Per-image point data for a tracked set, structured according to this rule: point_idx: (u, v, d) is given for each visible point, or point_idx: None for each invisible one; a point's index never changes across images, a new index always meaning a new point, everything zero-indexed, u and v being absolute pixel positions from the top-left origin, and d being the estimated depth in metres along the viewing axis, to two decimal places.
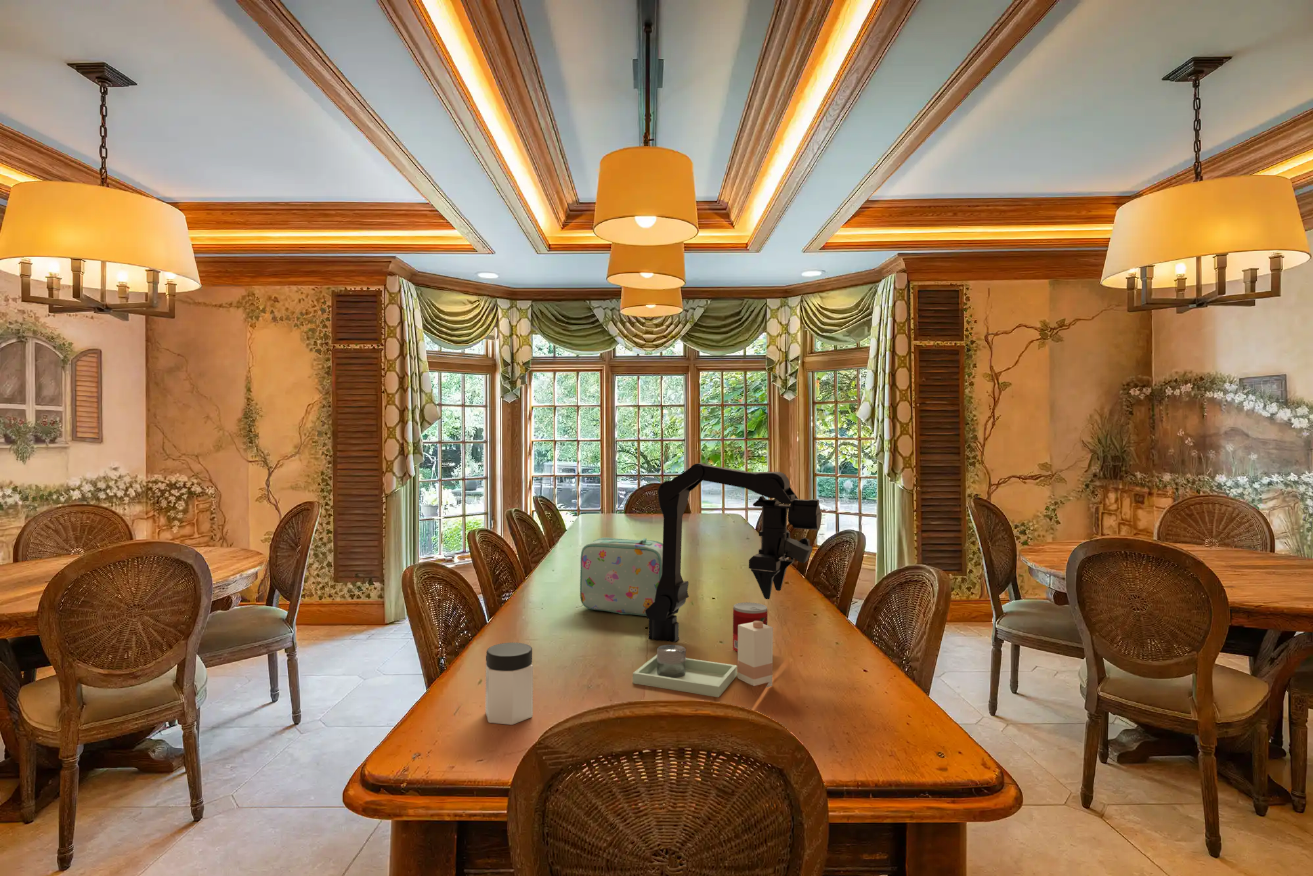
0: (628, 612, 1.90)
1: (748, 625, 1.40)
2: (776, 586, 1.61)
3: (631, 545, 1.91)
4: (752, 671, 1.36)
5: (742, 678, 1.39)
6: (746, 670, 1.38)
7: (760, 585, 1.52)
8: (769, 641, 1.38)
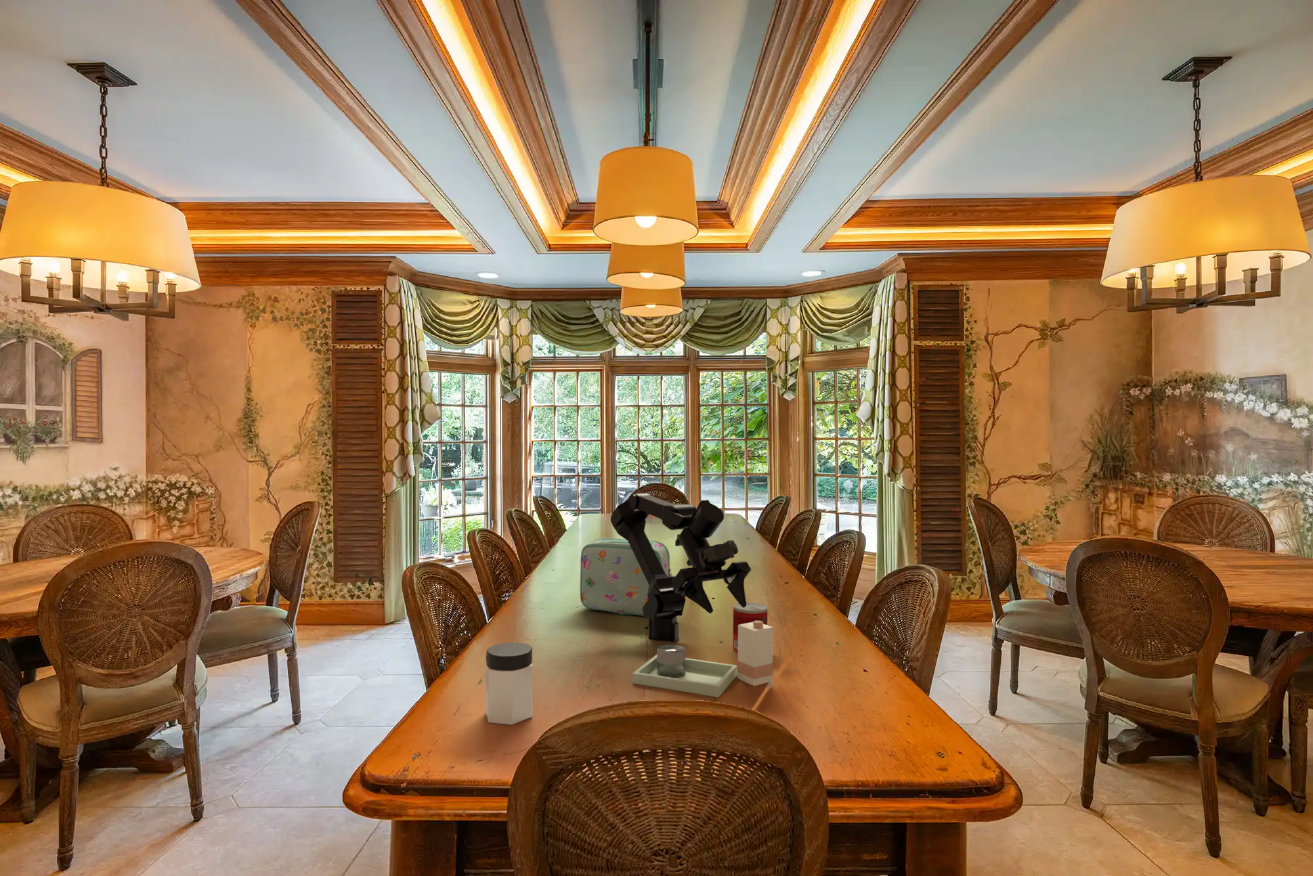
0: (628, 612, 1.90)
1: (748, 625, 1.40)
2: (741, 603, 1.50)
3: None
4: (752, 671, 1.36)
5: (742, 678, 1.39)
6: (746, 670, 1.38)
7: (698, 603, 1.46)
8: (769, 641, 1.38)
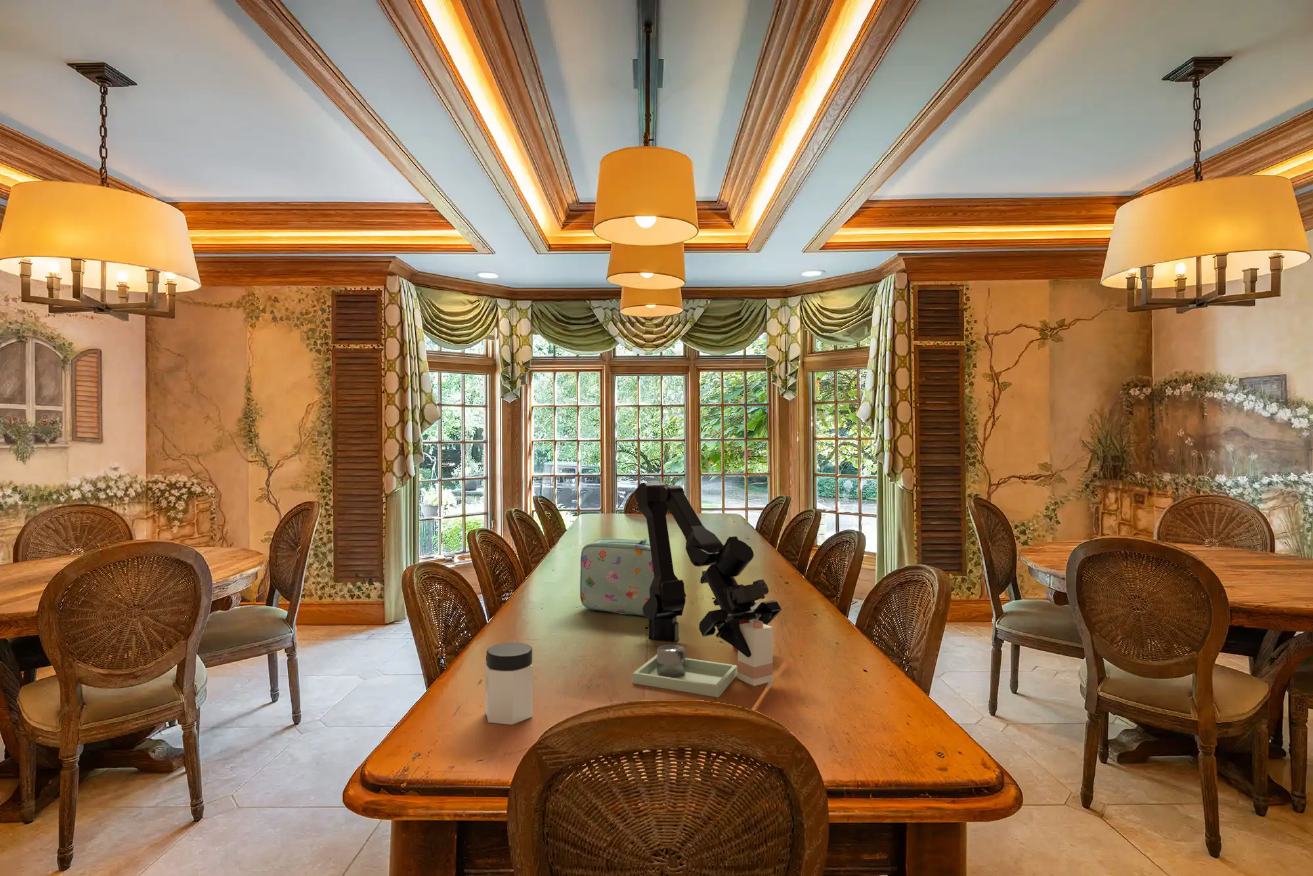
0: (628, 612, 1.90)
1: (748, 625, 1.40)
2: None
3: (631, 545, 1.91)
4: (752, 671, 1.36)
5: (742, 678, 1.39)
6: (746, 670, 1.38)
7: (735, 646, 1.39)
8: (769, 640, 1.38)
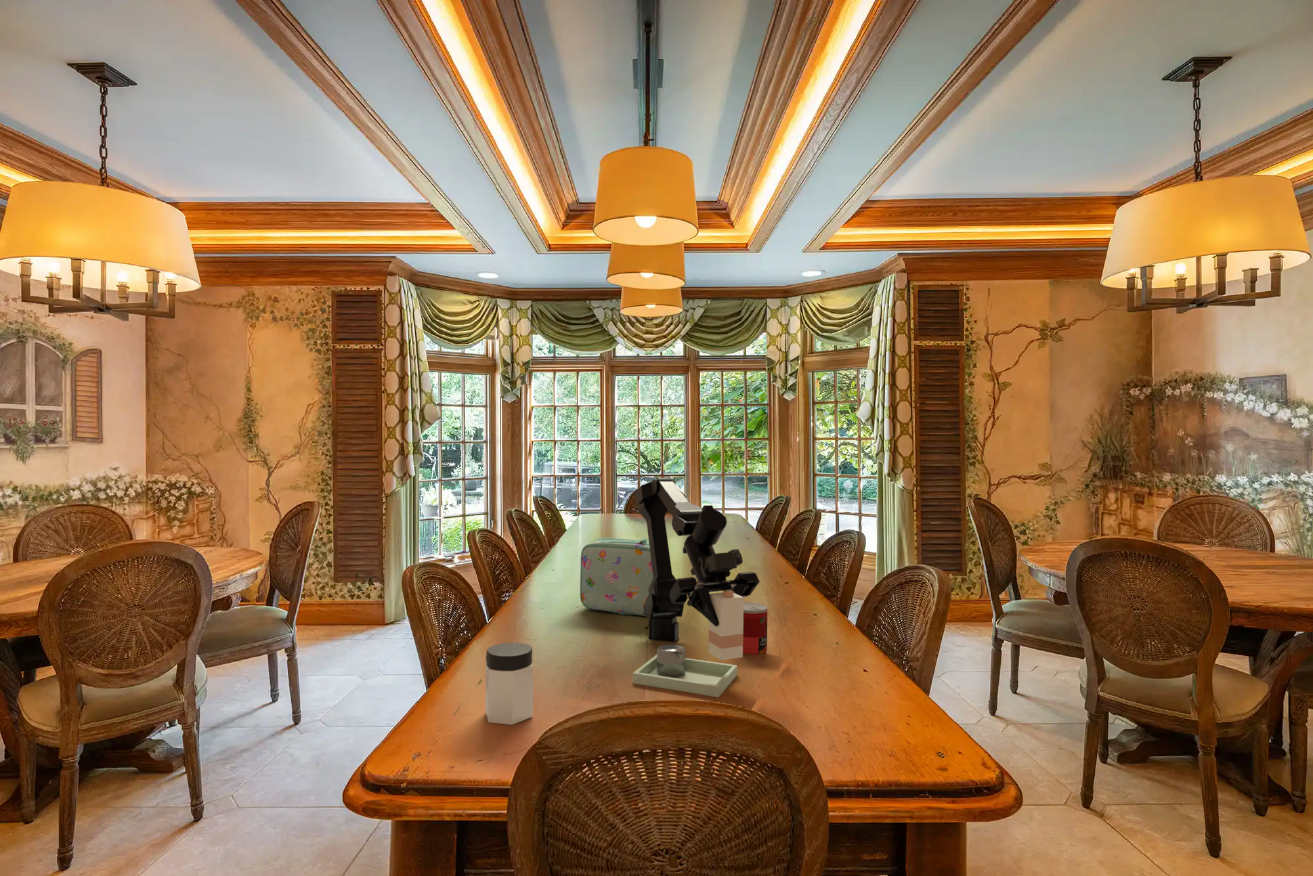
0: (628, 612, 1.90)
1: (719, 594, 1.37)
2: None
3: (631, 545, 1.91)
4: (719, 640, 1.34)
5: (712, 647, 1.37)
6: (715, 640, 1.36)
7: (705, 615, 1.37)
8: (739, 611, 1.35)
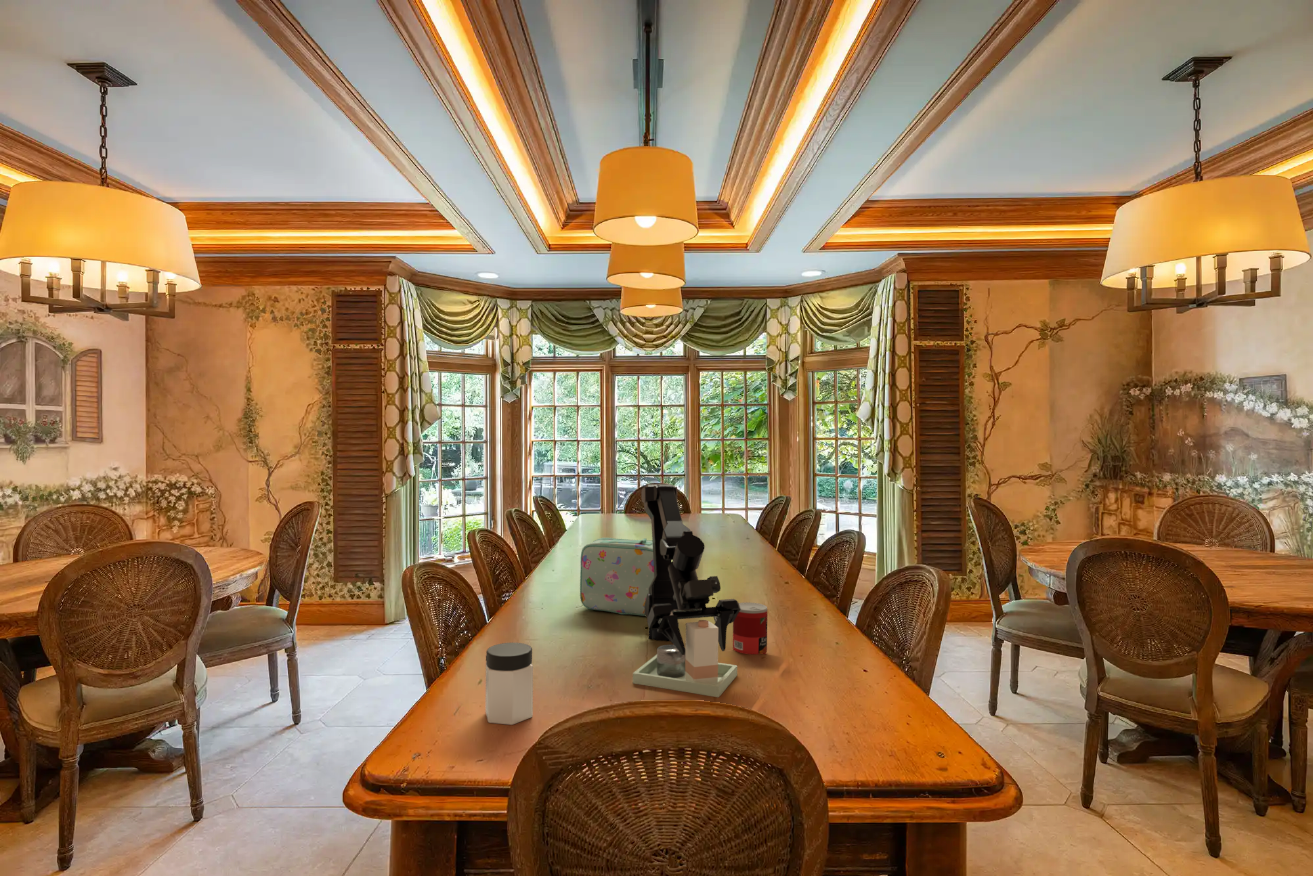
0: (628, 612, 1.90)
1: (695, 624, 1.37)
2: (721, 646, 1.37)
3: (631, 545, 1.91)
4: (693, 671, 1.33)
5: (688, 677, 1.36)
6: (689, 670, 1.35)
7: (673, 643, 1.36)
8: (713, 641, 1.34)
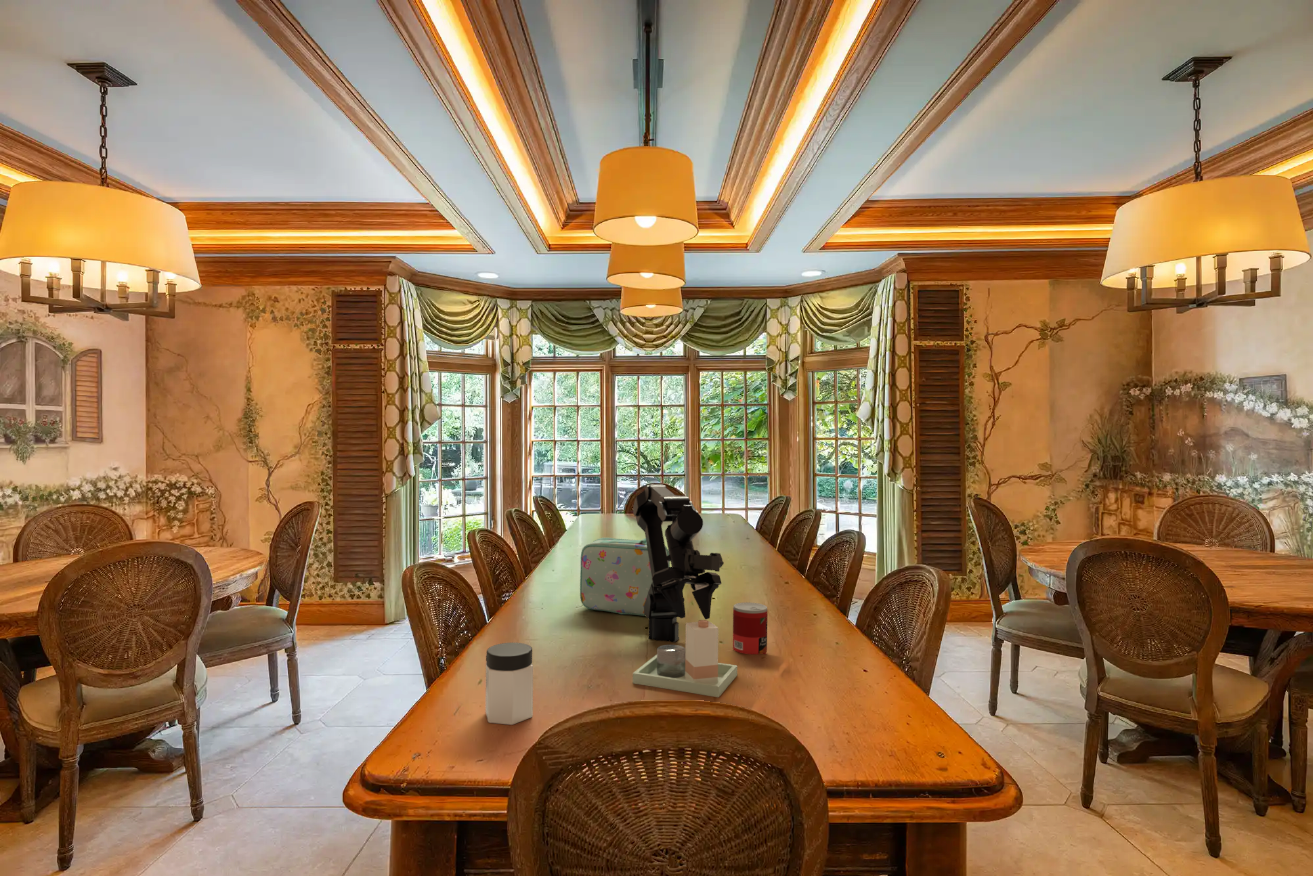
0: (628, 612, 1.90)
1: (695, 624, 1.37)
2: (704, 614, 1.51)
3: (631, 545, 1.91)
4: (693, 671, 1.33)
5: (688, 677, 1.36)
6: (689, 670, 1.35)
7: (672, 604, 1.45)
8: (713, 641, 1.34)
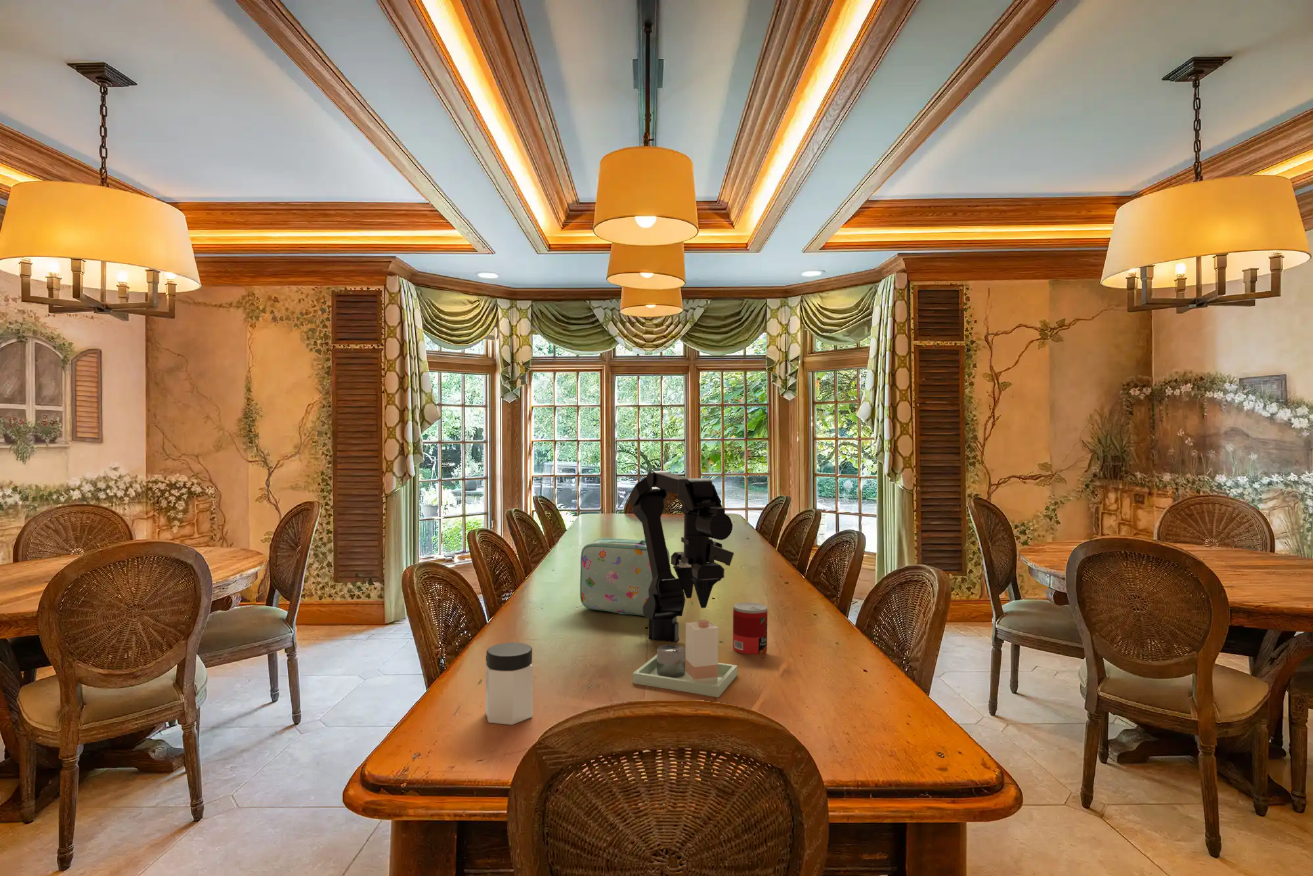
0: (628, 612, 1.90)
1: (695, 624, 1.37)
2: (687, 594, 1.58)
3: (631, 545, 1.91)
4: (693, 671, 1.33)
5: (688, 677, 1.36)
6: (689, 670, 1.35)
7: (699, 595, 1.48)
8: (713, 641, 1.34)
